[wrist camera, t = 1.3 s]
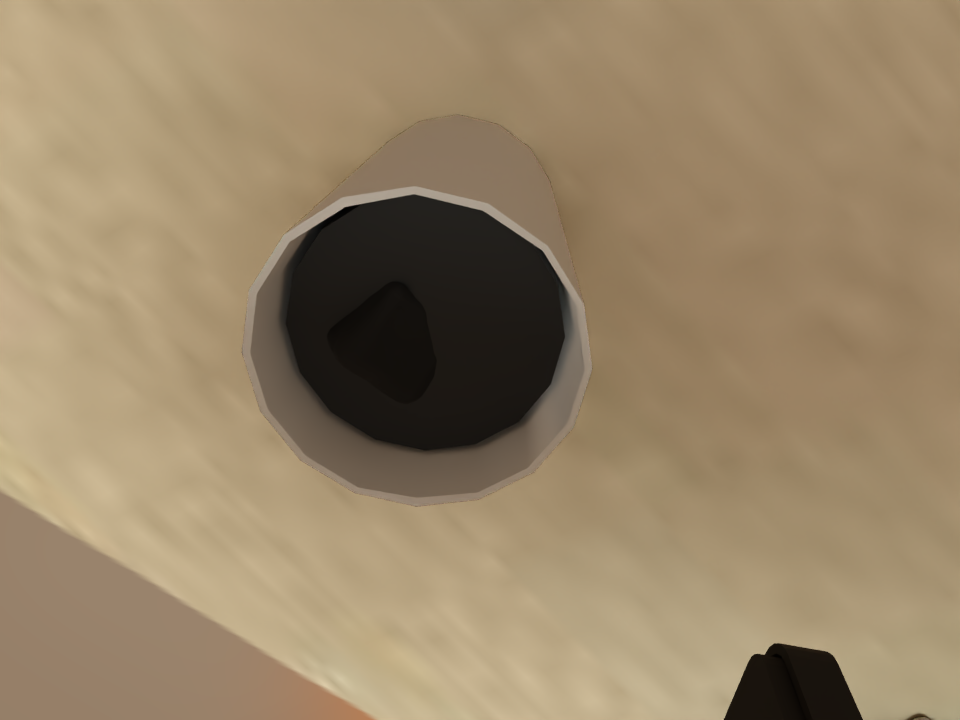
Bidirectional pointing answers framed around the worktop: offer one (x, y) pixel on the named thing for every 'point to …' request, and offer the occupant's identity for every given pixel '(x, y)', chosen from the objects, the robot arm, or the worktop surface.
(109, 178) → the worktop surface
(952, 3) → the worktop surface
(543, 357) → the white coffee cup
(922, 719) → the coffee box
